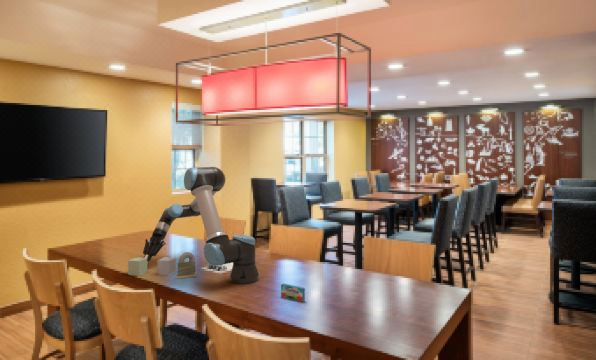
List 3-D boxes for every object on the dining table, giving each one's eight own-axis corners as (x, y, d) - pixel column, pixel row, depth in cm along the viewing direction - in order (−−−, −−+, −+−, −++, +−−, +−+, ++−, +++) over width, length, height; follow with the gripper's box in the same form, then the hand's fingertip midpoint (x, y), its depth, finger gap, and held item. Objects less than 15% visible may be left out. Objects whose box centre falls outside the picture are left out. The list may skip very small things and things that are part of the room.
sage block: (147, 272, 229) (147, 258, 228) (139, 275, 222) (138, 261, 221) (137, 271, 231) (136, 257, 230) (128, 274, 224) (128, 260, 223)
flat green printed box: (304, 301, 183) (304, 287, 183) (302, 302, 182) (302, 288, 182) (282, 296, 190) (282, 283, 189) (281, 297, 188) (280, 284, 188)
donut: (180, 271, 229) (180, 254, 229) (177, 270, 232) (177, 253, 231) (196, 268, 236) (196, 251, 236) (193, 267, 239) (193, 250, 238)
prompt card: (196, 276, 220) (196, 262, 219) (177, 278, 216) (176, 264, 216) (195, 274, 223) (195, 260, 223) (176, 276, 220) (176, 262, 220)
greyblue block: (176, 271, 229) (176, 257, 229) (168, 275, 223) (168, 261, 222) (165, 270, 231) (165, 256, 231) (157, 274, 225) (157, 260, 224)
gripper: (172, 235, 246) (156, 270, 231) (154, 234, 250) (136, 268, 235) (167, 228, 241) (149, 263, 226) (148, 227, 245) (130, 261, 230)
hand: (143, 265), depth 231 cm, fingers closed
